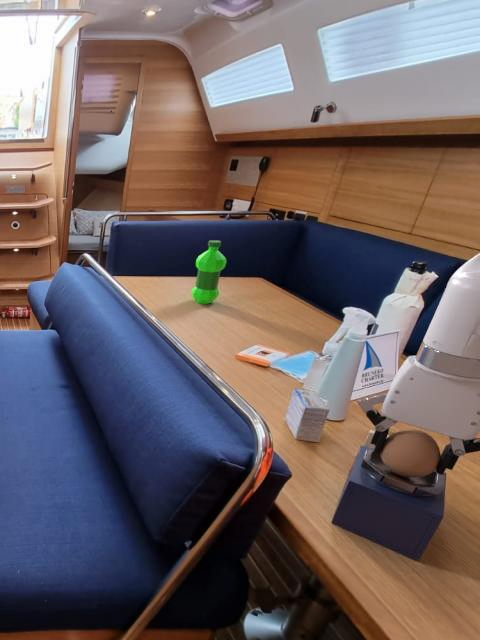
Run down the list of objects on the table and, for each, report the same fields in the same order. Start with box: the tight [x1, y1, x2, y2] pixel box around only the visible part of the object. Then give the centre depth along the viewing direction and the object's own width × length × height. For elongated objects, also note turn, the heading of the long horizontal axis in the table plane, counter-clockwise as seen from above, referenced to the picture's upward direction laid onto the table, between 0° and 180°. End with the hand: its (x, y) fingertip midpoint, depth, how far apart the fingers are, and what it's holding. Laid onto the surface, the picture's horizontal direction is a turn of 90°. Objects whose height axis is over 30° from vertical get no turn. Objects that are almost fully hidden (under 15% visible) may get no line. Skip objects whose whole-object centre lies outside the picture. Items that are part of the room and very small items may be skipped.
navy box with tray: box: [330, 444, 447, 562], centre depth 70 cm, size 13×11×10 cm
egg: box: [380, 428, 441, 478], centre depth 66 cm, size 6×6×8 cm
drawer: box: [363, 429, 442, 455], centre depth 77 cm, size 17×9×8 cm, turn 133°
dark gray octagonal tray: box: [361, 448, 445, 498], centre depth 68 cm, size 9×9×2 cm
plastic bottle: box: [191, 239, 228, 305], centre depth 167 cm, size 10×10×25 cm
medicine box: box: [284, 389, 330, 443], centre depth 93 cm, size 8×4×9 cm, turn 160°
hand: (407, 458), depth 66 cm, fingers closed on egg, 6 cm apart
